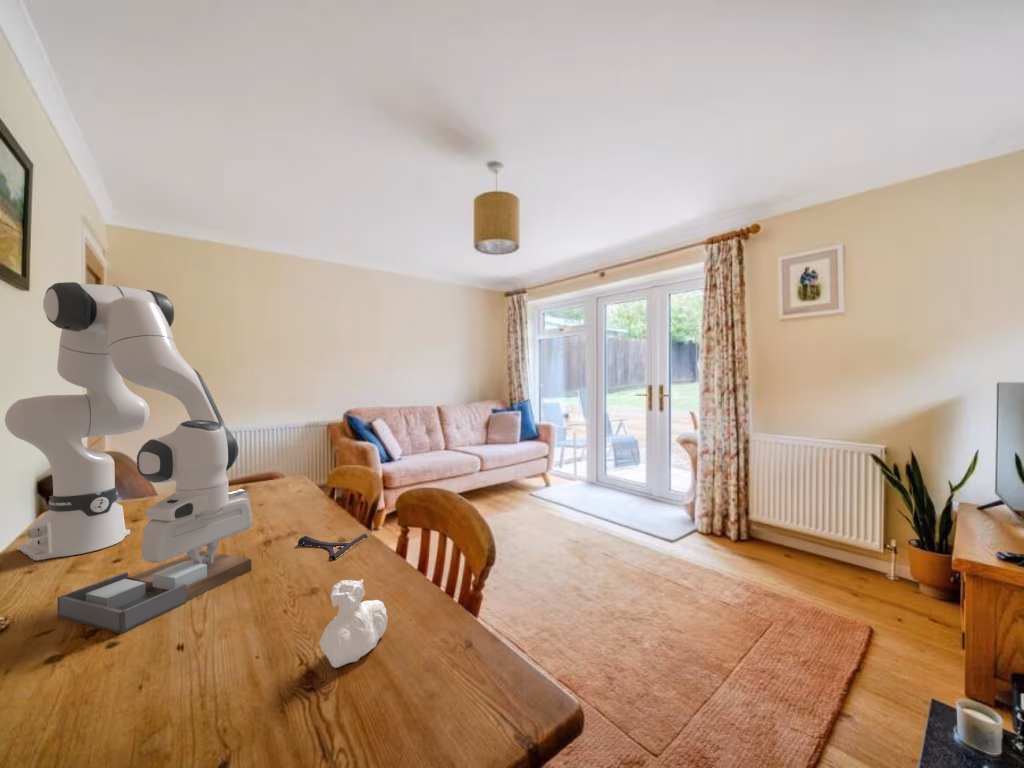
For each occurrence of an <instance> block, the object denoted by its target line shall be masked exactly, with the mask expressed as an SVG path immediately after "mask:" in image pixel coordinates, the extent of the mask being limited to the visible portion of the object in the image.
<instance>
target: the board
mask: <svg viewBox="0 0 1024 768" xmlns="http://www.w3.org/2000/svg"><path fill="white" fill-rule="evenodd" d="M205 552H206V550H205V551H203V550H202V551H201V552H200V553H199V554H200V556H201V557H202V556H204V555H205ZM185 561H187V562H193V560H192V558H191V557H190V556H189V555H188V554H186V555H184V556H182V557H179V558H176V559H173V560H171V561H168V562H165V563H163V564H160V565H158V566H155V567H152V568H150V569H146V570H144V571H141V572H139V573H136V574H134V575H131V576H128V579H129V580H134V581H139V582H143V583H145V590H146V591H147V592H151V593H156V594H162V593H164V592H166V591H169V590H167V589H162V588H157V587H153V574H154V573H157V572H159V571H162V570H165V569H167V568H170V567H172V566H175V565H177V564H180V563H182V562H185ZM251 571H252V558H247V557H241V556H234V555H228V554H222V553H217V552H215V554H214V562H213V563H212V564H210V565H207V577H205V578H203V579H201V580H199V581H196V582H194V583H192V584H190V585H187V586H186V602H188V601H190V600H192V599H194V598H197V597H199V596H200V595H203V594H204V593H207V592H209V591H211V590H213V589H215V588H217V587H219V586H221V585H224V584H225V583H227V582H230V581H231V580H234V579H236V578H238V577H241V576H242V575H244V574H246V573H249V572H251Z"/></svg>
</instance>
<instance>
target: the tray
mask: <svg viewBox="0 0 1024 768" xmlns="http://www.w3.org/2000/svg"><path fill="white" fill-rule="evenodd" d="M128 577H129V572H127V571H126V572H123V573H120V574H117V575H115V576H111V577H109V578H106V579H104V580H100V581H98V582H95V583H93V584H90V585H88V586H85V587H82V588H78V589H76V590H73V591H70V592H68V593H65V594H62V595H60V596H57V598H56V599H57V618H59V619H64V620H68V621H71V622H74V623H75V622H76V623H79V624H82V625H86V626H90V627H94V628H97V629H100V630H101V629H102V630H105V631H109V632H112V633H115V634H120V635H122V634H125V633H127V632H128V631H131V630H133V629H135V628H137V627H139V626H141V625H143V624H145V623H148V622H149V621H152V620H153V619H155V618H158V617H160V616H162V615H164V614H166V613H168V612H170V611H172V610H175V609H177V608H179V607H181V606H182V605H185V604H187V601H186V584H182V585H180V586H178V587H176V588H173V589H171V590H169V591H166V592H164V593H162V594H156V593H151V592H147V591H146V595H145V596H143V597H140V598H138V599H136V600H133V601H131V602H129V603H126V604H124V605H122V606H119V607H117V608H111V607H107V606H102V605H98V604H94V603H90V602H86V593H88V592H91V591H94V590H96V589H99V588H102V587H104V586H107V585H109V584H112V583H115V582H117V581H120V580H123V579H128Z"/></svg>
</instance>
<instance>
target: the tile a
mask: <svg viewBox="0 0 1024 768" xmlns="http://www.w3.org/2000/svg"><path fill="white" fill-rule="evenodd" d="M145 595H146V590H145V583H143V582H139V581H134V580H129V579H123V580H120V581H117V582H115V583H112V584H109V585H107V586H104V587H102V588H99V589H96V590H94V591H91V592H88V593H86V602H90V603H94V604H98V605H102V606H107V607H111V608H117V607H119V606H122V605H124V604H126V603H129V602H131V601H133V600H136V599H138V598H140V597H143V596H145Z"/></svg>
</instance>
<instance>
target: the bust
mask: <svg viewBox="0 0 1024 768" xmlns="http://www.w3.org/2000/svg"><path fill="white" fill-rule="evenodd" d="M363 583H364V579H360V580H352V579H346V580H345V579H343V580H342V579H341V580H339V582H337V583H336V584H334V585H333V586H332V588H331V594H330V597H329V598H330V600H331V603H332V608H335V607H337V606H338V612H337V615H335V616H334V618H333V619H332V620H331V621H330V622H329V623H328V624H327V625H326V627H325V628H324V630H323V633H322V634H321V638H320V639H319V641H318V644H319V646H320V649H321V651H322V652H323V653H324V654H325V656H326V658H327V660H328V662H329V664H330V666H332V667H333V668H334V669H336V668H340V667H342V666H345V665H347V664H350V663H356V662H358V661H359V660H360V659H361V658H362V657H364V656H366V654H368V653H369V652H370V651H372V650H373V649H375V648H376V646H377V645H378V641H379V640H380V639H381V638H382V636H383V635H384V634H385V632H386V629H387V625H388V619H389V618H388V615H387V608H386V607H385V603H384V602H383V601H380V600H379V599H373V600H364V601H362V599H363V598H364V596H366V591H365V589H364V586H365V585H364V584H363Z"/></svg>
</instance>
